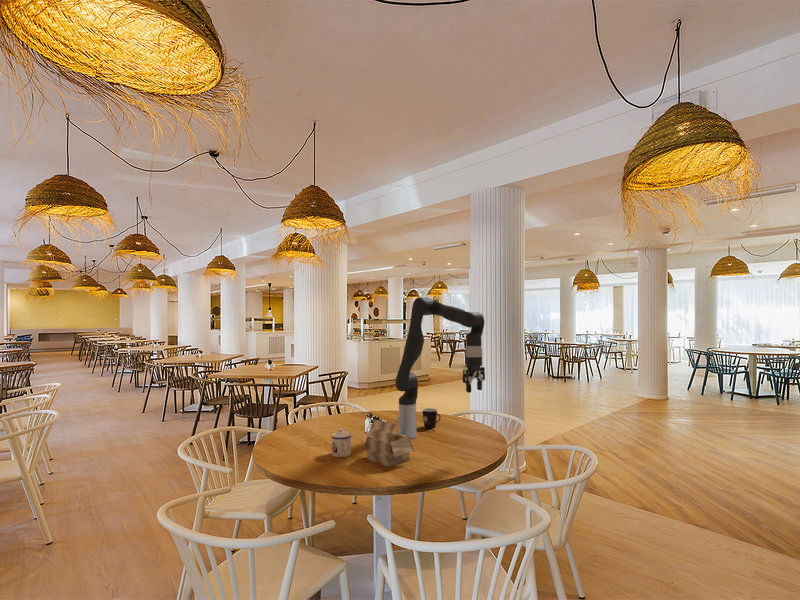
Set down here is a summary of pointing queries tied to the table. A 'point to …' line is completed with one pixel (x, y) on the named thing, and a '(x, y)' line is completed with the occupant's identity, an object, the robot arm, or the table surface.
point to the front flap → (381, 430)
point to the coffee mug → (430, 417)
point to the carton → (389, 450)
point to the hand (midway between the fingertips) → (474, 391)
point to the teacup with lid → (341, 443)
